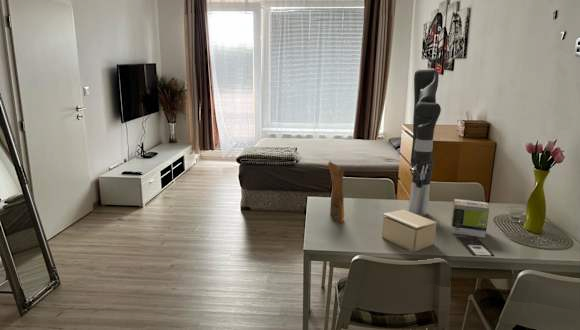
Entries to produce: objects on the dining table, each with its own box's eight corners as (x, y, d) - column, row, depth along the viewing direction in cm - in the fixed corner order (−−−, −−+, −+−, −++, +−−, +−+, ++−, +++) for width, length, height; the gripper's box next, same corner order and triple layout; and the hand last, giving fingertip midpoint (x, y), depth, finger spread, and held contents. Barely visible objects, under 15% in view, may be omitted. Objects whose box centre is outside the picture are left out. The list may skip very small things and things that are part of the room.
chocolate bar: (476, 236, 198) (494, 254, 180) (476, 238, 198) (493, 256, 180) (456, 236, 198) (472, 254, 180) (456, 238, 198) (472, 256, 180)
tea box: (483, 230, 207) (487, 201, 203) (485, 238, 197) (490, 208, 194) (450, 226, 211) (454, 197, 207) (450, 233, 202) (454, 204, 198)
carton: (401, 230, 203) (403, 211, 201) (434, 244, 189) (436, 223, 187) (381, 237, 195) (383, 217, 193) (413, 252, 181) (416, 230, 179)
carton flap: (403, 210, 201) (403, 209, 201) (437, 223, 186) (437, 222, 186) (382, 214, 192) (382, 213, 192) (416, 228, 178) (416, 227, 178)
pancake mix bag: (333, 224, 208) (336, 169, 201) (324, 210, 226) (327, 159, 219) (346, 224, 209) (350, 169, 202) (337, 210, 227) (340, 159, 220)
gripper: (425, 145, 190) (421, 182, 195) (406, 149, 183) (402, 187, 187) (440, 149, 185) (435, 187, 189) (420, 152, 177) (416, 192, 181)
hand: (419, 187), depth 188 cm, fingers closed
